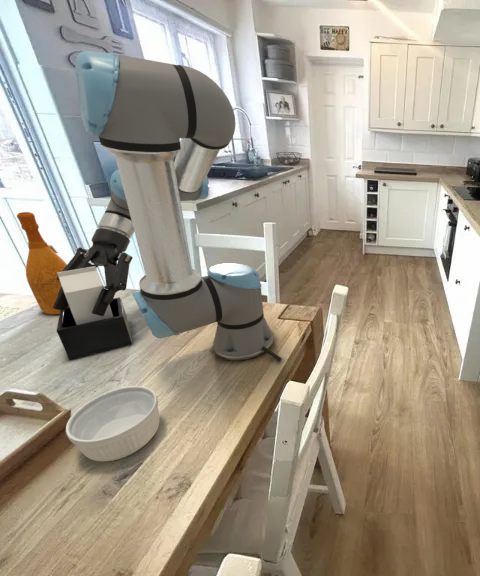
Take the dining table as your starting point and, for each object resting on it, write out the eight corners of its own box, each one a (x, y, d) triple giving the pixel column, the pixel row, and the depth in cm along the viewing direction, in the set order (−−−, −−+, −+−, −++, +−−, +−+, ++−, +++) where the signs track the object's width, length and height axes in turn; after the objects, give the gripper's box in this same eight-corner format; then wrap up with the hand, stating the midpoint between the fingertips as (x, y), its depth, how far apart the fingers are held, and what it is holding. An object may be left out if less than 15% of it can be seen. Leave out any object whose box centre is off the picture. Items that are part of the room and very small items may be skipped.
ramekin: (66, 479, 54) (50, 452, 51) (92, 420, 65) (80, 394, 62) (159, 454, 59) (149, 428, 56) (169, 403, 70) (162, 379, 67)
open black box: (132, 344, 87) (123, 316, 84) (69, 360, 80) (56, 330, 76) (129, 323, 96) (120, 297, 92) (72, 336, 89) (60, 308, 85)
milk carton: (119, 334, 88) (98, 270, 80) (84, 345, 83) (59, 277, 75) (112, 324, 92) (92, 262, 84) (79, 333, 87) (54, 268, 79)
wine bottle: (90, 307, 102) (55, 212, 89) (48, 319, 95) (3, 218, 82) (77, 297, 107) (42, 206, 94) (36, 309, 99) (-8, 211, 86)
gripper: (162, 244, 91) (131, 321, 84) (88, 236, 93) (52, 310, 85) (142, 231, 84) (106, 313, 76) (63, 222, 85) (21, 302, 78)
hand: (78, 312), depth 81 cm, fingers closed on milk carton, 10 cm apart
